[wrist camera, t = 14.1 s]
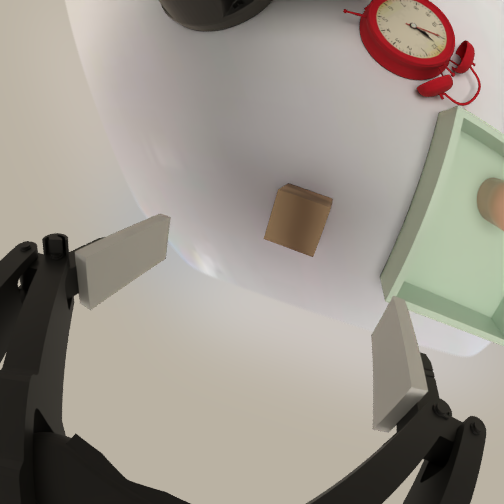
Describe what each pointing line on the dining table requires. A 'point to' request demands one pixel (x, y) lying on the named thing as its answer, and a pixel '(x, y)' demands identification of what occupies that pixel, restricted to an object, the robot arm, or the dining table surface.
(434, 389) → the robot arm
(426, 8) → the alarm clock
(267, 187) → the dining table surface
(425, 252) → the tray
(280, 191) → the walnut cube
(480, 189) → the terracotta canister
